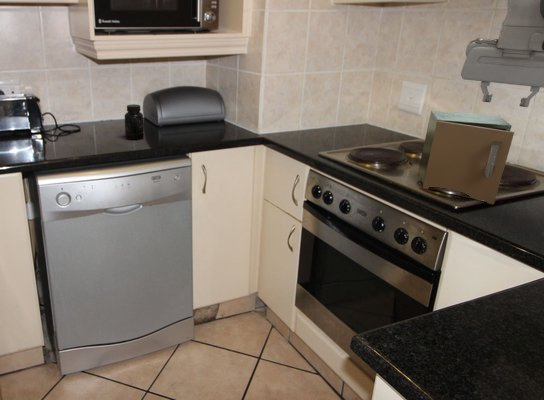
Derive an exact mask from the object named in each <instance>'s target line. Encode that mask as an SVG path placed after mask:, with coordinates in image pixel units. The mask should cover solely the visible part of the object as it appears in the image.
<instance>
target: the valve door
mask: <svg viewBox="0 0 544 400" xmlns="http://www.w3.org/2000/svg"><path fill="white" fill-rule="evenodd" d="M514 136H515V131H511V130H510V131H505V130H498V129H491V128H484V127H478V126H471V125H464V124H457V123H450V122H444V121H437V125H436V129H435V134H434V139H433V143H432V148H431V152H430V157H429V161H428V166H427V171H426V175H425V180H424V184H423V186H422V189H424V190H428V188H429V187H440V188H447V189H453V190H457V191H460V192H463V193H465V194H467V195H469V196H470V197H471V198H475V199H479V200H484V201H486V202H487V203H486V204H489V205H495V203H496V198H497V195H498V191H499V188H500V185H501V180H502V177H503V173H504V170H505V167H506V164H507V161H508V160H507V159H508V156H509V152H510V150H511V145H512V142H513V138H514Z"/></svg>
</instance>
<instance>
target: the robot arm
mask: <svg viewBox="0 0 544 400" xmlns="http://www.w3.org/2000/svg"><path fill="white" fill-rule="evenodd" d="M506 8H507V9H506V10H507V11H506V15H505V18H504V19H503V21H502V23H501V26H500V31H499V35H498V38H481V37H479V38H478V37H477V38H475V39H473V40H471V41H470V42H468V43H467V45H466V50H465V56H466V57H465V60H464V63H463V65H462V68H461V72H460V77H461V79H462V80H467V81H476V82H480V90H481V91H482V94H483V96H482V102H483V103H491V102H492V98H493V93H490V92H489V89H488V87H490V84H491V83H495V84H504V85H506V84H507V85H514V86H524V87H530V88H529V92H531V93H530V94H529V95H528V96H527V97H521V99H520V103H519V107H520V108H521V107H522V108H528V107H529V106H530V103H531V99H533V98H534V96H536V95H537V94H538V93H539V92H540V89H541V88H544V0H507V2H506Z"/></svg>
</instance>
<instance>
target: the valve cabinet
mask: <svg viewBox="0 0 544 400" xmlns="http://www.w3.org/2000/svg"><path fill="white" fill-rule="evenodd" d="M437 121H444V122H450V123H457V124H464V125H471V126H478V127H484V128H491V129H498V130H505V131H511V129H512V124H511V123H510V122H508V121H507V120H505V119H504V118H503V117H502V116H501V115H496V114H494V115H493V114H484V113H483V114H482V113H470V112H469V113H467V112H451V111H440V110H430V114H429V119H428V124H427V129H426V133H425V138H424V143H423V148H422V152H421V157H420V162H419V167H418V171H417V176H418V178H419V180H420V183H421V182H422V184H421V186H422V187H423V184H424V180H425V175H426V171H427V166H428V161H429V157H430V152H431V148H432V143H433V139H434V134H435V129H436V125H437Z"/></svg>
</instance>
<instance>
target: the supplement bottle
mask: <svg viewBox="0 0 544 400" xmlns="http://www.w3.org/2000/svg"><path fill="white" fill-rule="evenodd" d="M141 111H142V110H141V105H140V104H127V105H126V112H125V114H124V117H123V118H124V137H125V139H126V140H129V141H140V140H143V139H144V136H145V135H144V134H145V132H144V129H145V128H144V127H145V126H144V124H145V123H144V114H143V113H142V112H141Z"/></svg>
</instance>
